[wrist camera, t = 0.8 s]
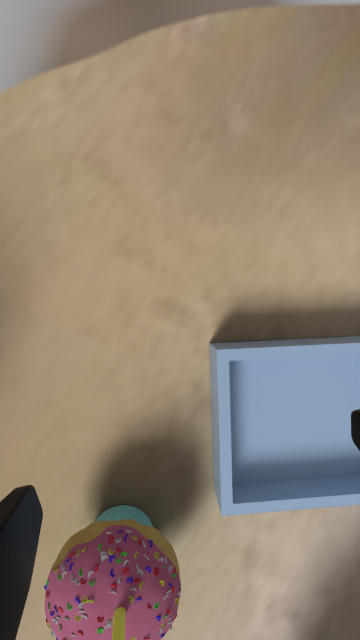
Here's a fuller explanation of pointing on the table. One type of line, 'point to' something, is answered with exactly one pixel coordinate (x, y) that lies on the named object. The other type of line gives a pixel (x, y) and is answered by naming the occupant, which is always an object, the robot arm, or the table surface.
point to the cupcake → (114, 581)
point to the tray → (285, 424)
